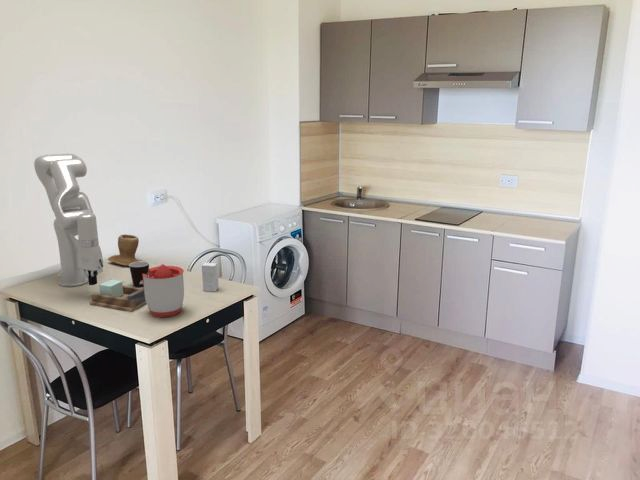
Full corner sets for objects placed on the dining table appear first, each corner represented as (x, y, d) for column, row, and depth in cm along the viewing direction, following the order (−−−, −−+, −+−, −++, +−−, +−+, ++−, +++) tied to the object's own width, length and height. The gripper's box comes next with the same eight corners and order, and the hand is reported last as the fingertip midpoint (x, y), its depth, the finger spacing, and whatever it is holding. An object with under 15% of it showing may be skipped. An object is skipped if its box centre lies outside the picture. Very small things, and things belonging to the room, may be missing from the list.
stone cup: (145, 263, 277) (143, 235, 273) (124, 268, 267) (122, 239, 263) (127, 258, 285) (125, 230, 281) (107, 263, 276) (104, 235, 272)
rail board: (89, 304, 221) (88, 290, 219) (116, 292, 235) (115, 278, 234) (131, 312, 214) (130, 297, 212) (156, 298, 228) (155, 284, 227)
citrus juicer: (150, 303, 223) (147, 257, 218) (191, 305, 221) (188, 259, 216) (134, 318, 208) (130, 269, 203) (177, 320, 206) (174, 271, 201)
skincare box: (218, 288, 241) (217, 263, 238) (215, 291, 237) (214, 266, 234) (205, 287, 242) (204, 262, 239) (202, 291, 238) (201, 265, 235)
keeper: (100, 298, 224) (99, 284, 223) (112, 292, 230) (110, 279, 229) (112, 300, 222) (110, 286, 221) (123, 294, 228) (122, 281, 227)
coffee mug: (144, 289, 240) (142, 267, 237) (127, 287, 241) (125, 266, 239) (157, 280, 251) (155, 260, 248) (140, 279, 252) (138, 258, 250)
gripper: (67, 243, 223) (72, 285, 227) (96, 246, 218) (100, 289, 222) (81, 239, 230) (85, 279, 234) (109, 242, 225) (113, 283, 229)
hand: (93, 284), depth 228 cm, fingers closed
